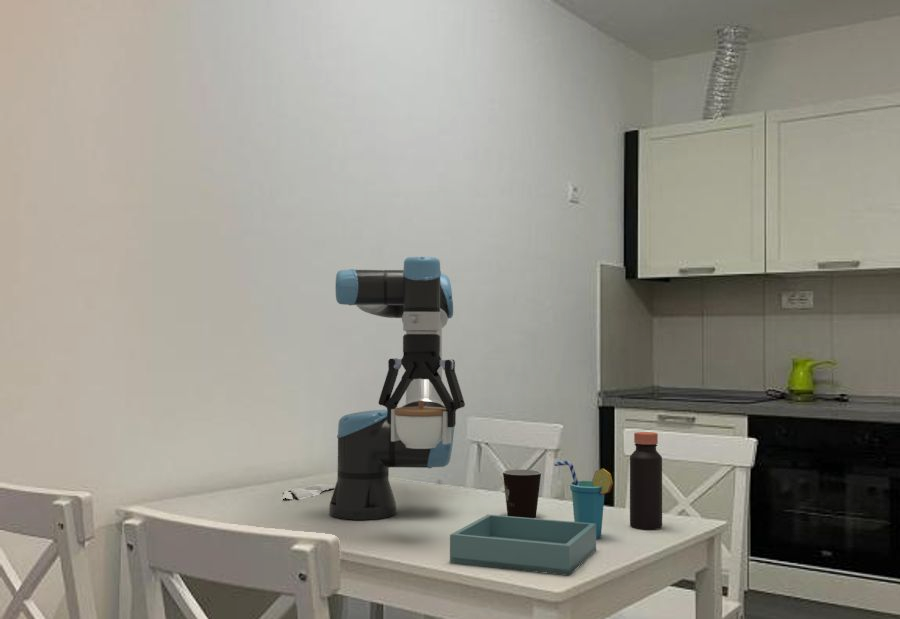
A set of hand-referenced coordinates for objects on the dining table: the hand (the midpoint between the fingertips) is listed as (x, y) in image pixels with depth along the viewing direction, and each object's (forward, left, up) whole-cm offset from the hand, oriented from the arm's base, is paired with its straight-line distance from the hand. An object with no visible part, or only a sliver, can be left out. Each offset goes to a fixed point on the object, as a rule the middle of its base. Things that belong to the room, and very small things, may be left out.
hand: (420, 442), depth 183 cm
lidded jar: (0, 0, -1) cm, 1 cm away
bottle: (+40, +29, -19) cm, 53 cm away
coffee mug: (+12, +30, -19) cm, 38 cm away
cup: (+30, +15, -19) cm, 39 cm away
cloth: (-48, +35, -20) cm, 63 cm away
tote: (+24, -6, -19) cm, 31 cm away
